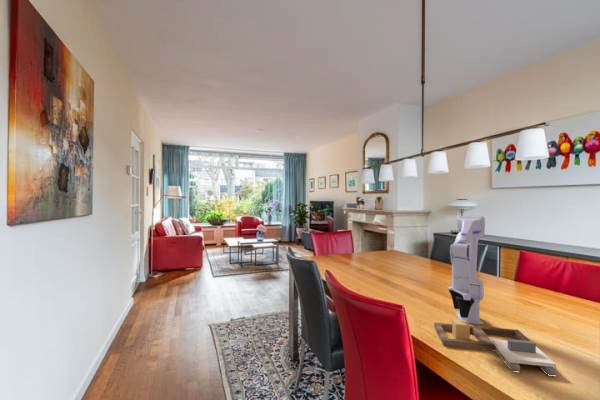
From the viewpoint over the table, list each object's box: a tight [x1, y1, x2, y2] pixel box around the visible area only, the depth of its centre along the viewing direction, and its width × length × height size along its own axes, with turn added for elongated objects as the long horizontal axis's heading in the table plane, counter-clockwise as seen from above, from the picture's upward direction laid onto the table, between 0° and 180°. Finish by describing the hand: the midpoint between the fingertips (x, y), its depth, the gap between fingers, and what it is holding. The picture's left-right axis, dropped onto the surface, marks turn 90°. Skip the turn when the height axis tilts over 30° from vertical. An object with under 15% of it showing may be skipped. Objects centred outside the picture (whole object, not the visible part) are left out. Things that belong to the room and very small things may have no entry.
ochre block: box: [451, 318, 471, 341], centre depth 105 cm, size 4×4×6 cm
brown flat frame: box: [433, 322, 557, 376], centre depth 98 cm, size 26×29×2 cm
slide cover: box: [491, 338, 557, 368], centre depth 91 cm, size 12×12×4 cm
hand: (460, 312), depth 105 cm, fingers open, 7 cm apart
